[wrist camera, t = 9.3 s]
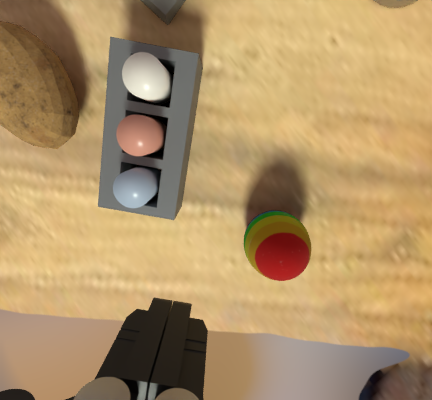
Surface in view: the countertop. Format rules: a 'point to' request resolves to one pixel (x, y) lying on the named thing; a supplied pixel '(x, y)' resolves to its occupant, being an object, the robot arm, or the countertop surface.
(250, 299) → the countertop surface
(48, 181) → the countertop surface
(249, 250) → the decorative egg
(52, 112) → the potato
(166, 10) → the soap mold
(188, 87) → the grey rectangular block
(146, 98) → the white egg
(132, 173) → the blue grey egg
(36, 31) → the countertop surface
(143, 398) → the robot arm
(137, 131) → the brown egg
